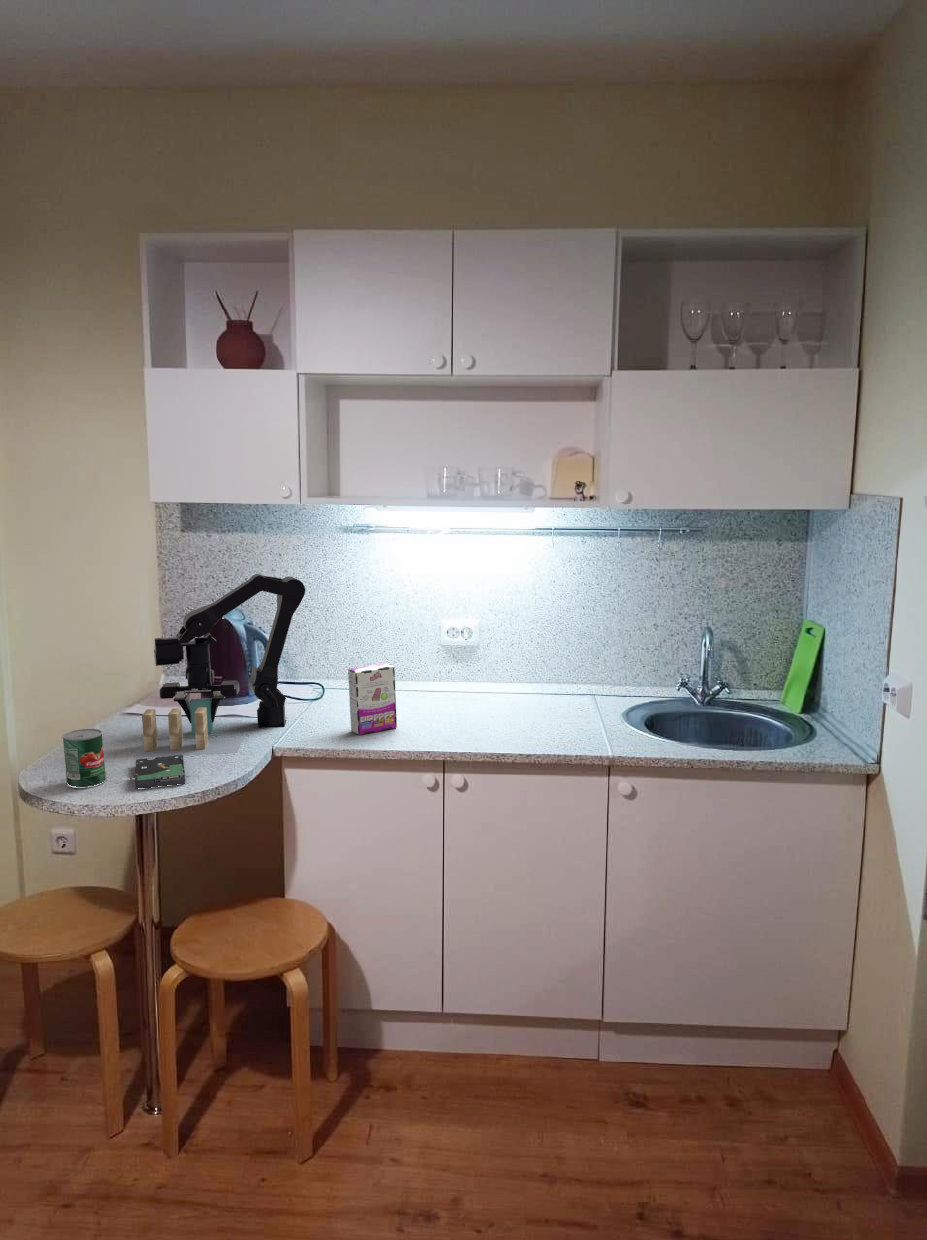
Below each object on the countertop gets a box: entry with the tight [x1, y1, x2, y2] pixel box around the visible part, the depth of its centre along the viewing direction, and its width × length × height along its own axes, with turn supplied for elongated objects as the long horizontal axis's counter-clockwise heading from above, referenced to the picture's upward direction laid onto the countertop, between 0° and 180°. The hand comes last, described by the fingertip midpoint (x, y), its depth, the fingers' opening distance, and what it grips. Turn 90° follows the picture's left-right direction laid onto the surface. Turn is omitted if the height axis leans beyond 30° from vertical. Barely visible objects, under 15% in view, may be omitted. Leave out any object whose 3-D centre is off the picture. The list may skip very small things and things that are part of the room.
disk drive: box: [134, 755, 186, 790], centre depth 205 cm, size 10×3×15 cm
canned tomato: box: [62, 728, 107, 787], centre depth 201 cm, size 8×8×11 cm
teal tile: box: [190, 697, 214, 735], centre depth 235 cm, size 2×5×9 cm, turn 96°
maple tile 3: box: [167, 707, 184, 751], centre depth 223 cm, size 2×5×9 cm, turn 6°
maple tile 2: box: [194, 707, 209, 750], centre depth 224 cm, size 2×5×9 cm, turn 6°
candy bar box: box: [347, 663, 398, 736], centre depth 237 cm, size 11×5×16 cm, turn 123°
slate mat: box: [132, 737, 244, 758], centre depth 224 cm, size 24×12×1 cm, turn 96°
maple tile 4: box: [141, 708, 159, 752], centre depth 223 cm, size 2×5×9 cm, turn 6°
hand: (202, 722), depth 236 cm, fingers closed on teal tile, 5 cm apart
